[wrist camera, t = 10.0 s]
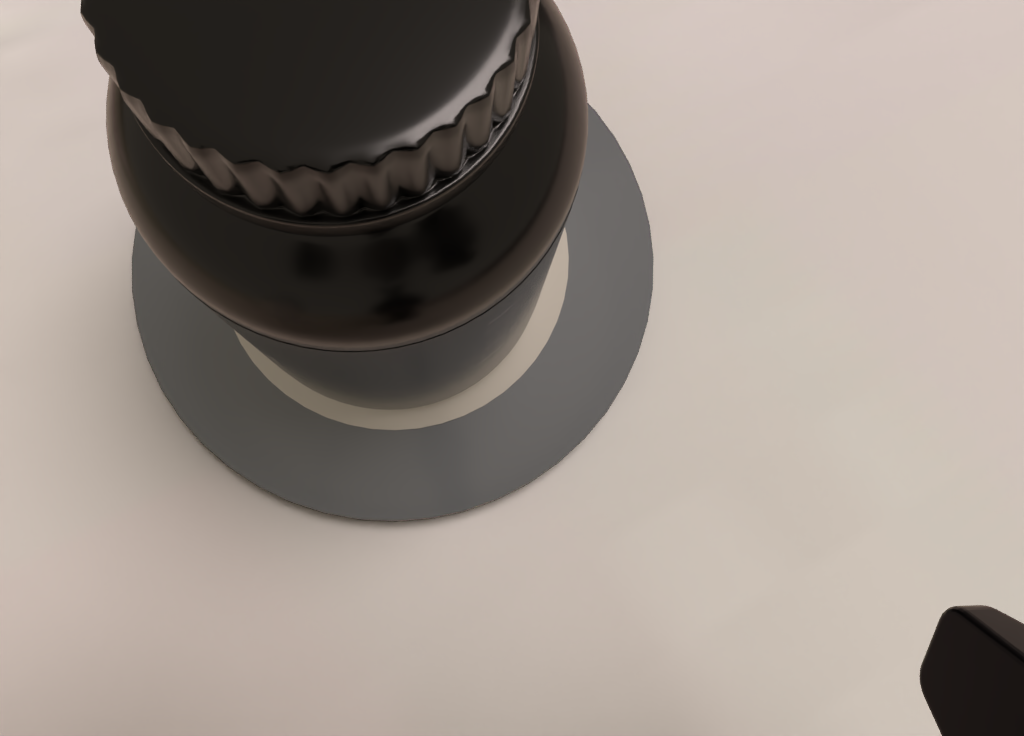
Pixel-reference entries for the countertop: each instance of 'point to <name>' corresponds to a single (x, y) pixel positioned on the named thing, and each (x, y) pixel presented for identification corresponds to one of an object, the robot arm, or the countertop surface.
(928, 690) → the robot arm
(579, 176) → the supplement bottle
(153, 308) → the coaster
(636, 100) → the countertop surface
